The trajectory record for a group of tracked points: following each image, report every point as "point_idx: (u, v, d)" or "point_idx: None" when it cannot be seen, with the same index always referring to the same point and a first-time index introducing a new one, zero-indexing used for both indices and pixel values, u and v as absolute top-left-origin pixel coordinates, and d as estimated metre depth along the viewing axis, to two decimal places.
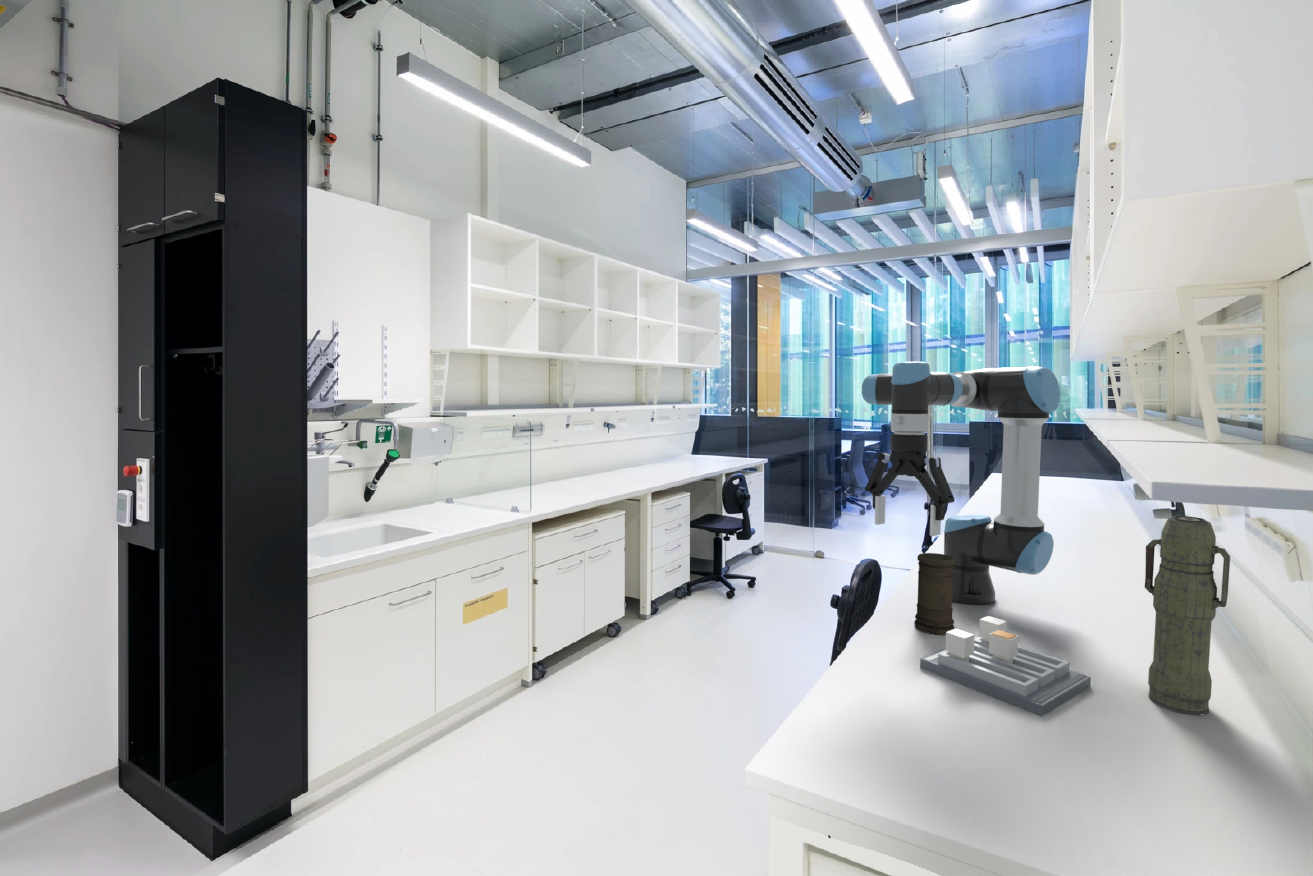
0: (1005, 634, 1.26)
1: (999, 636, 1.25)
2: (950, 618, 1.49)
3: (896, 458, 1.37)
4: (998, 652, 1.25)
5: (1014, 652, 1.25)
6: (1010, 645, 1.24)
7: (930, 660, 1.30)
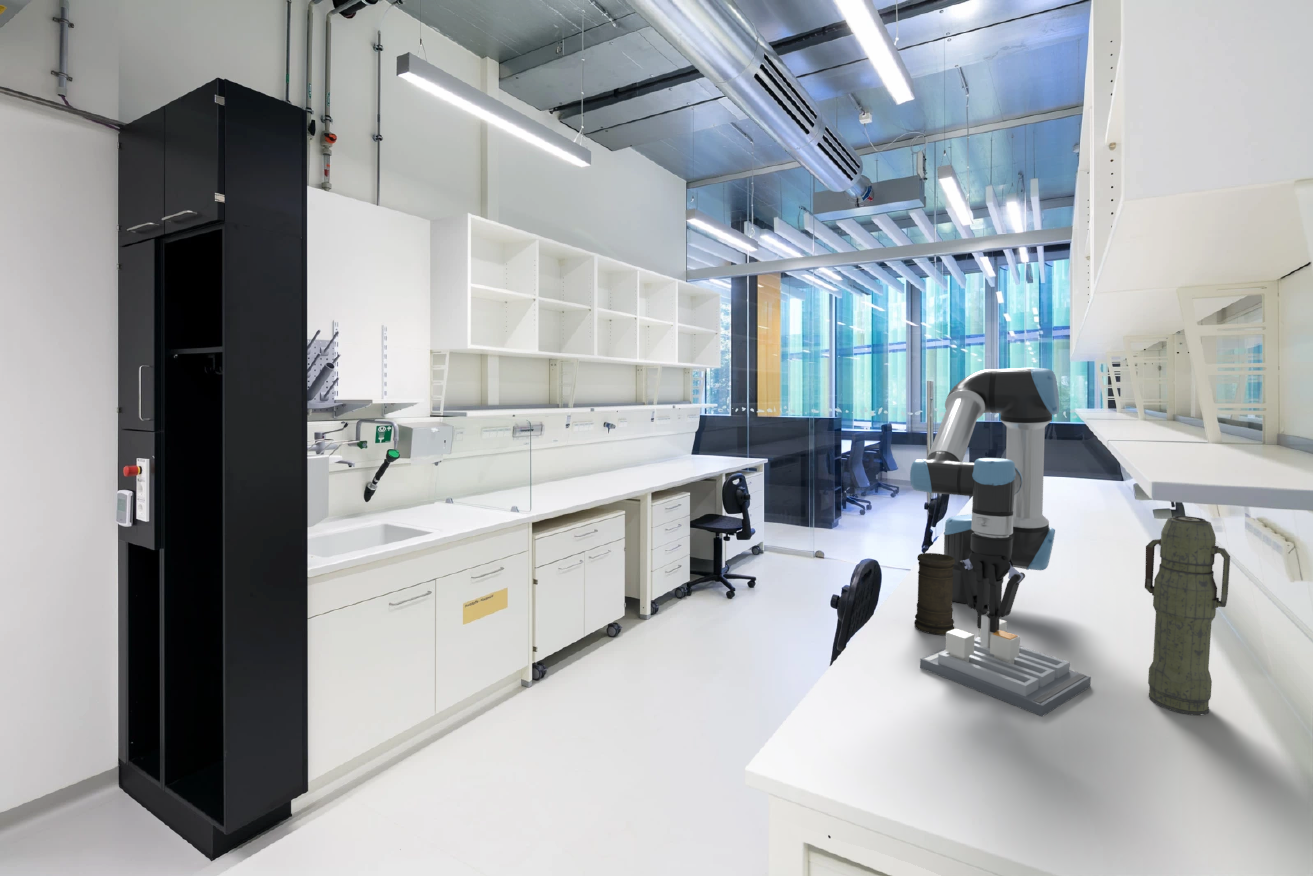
0: (1006, 634, 1.26)
1: (1000, 636, 1.25)
2: (950, 618, 1.49)
3: (976, 556, 1.29)
4: (999, 652, 1.25)
5: (1015, 652, 1.25)
6: (1011, 646, 1.23)
7: (930, 660, 1.30)
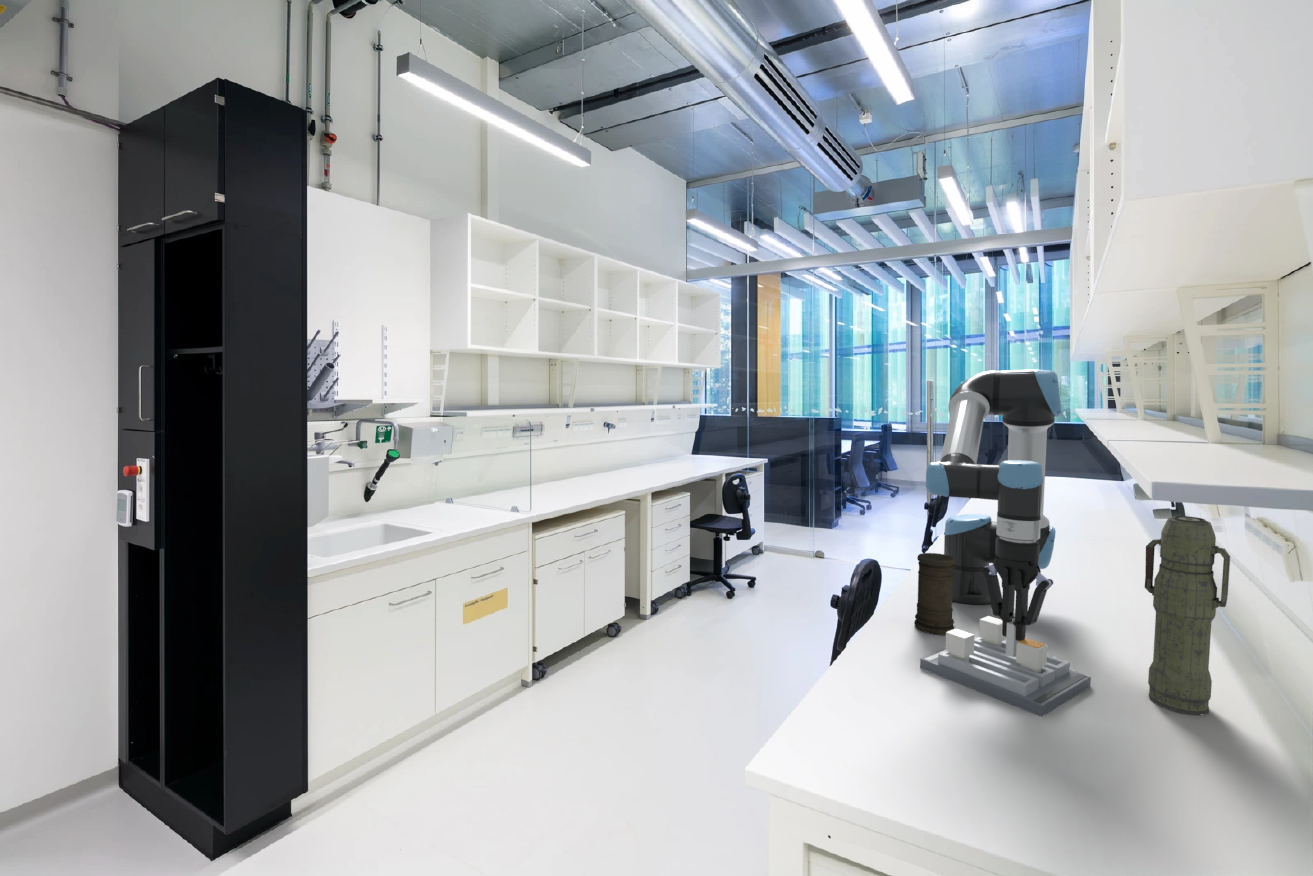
0: (1033, 643, 1.21)
1: (1027, 645, 1.21)
2: (950, 618, 1.49)
3: (1001, 562, 1.25)
4: (1026, 661, 1.21)
5: (1043, 661, 1.20)
6: (1038, 655, 1.19)
7: (930, 660, 1.30)
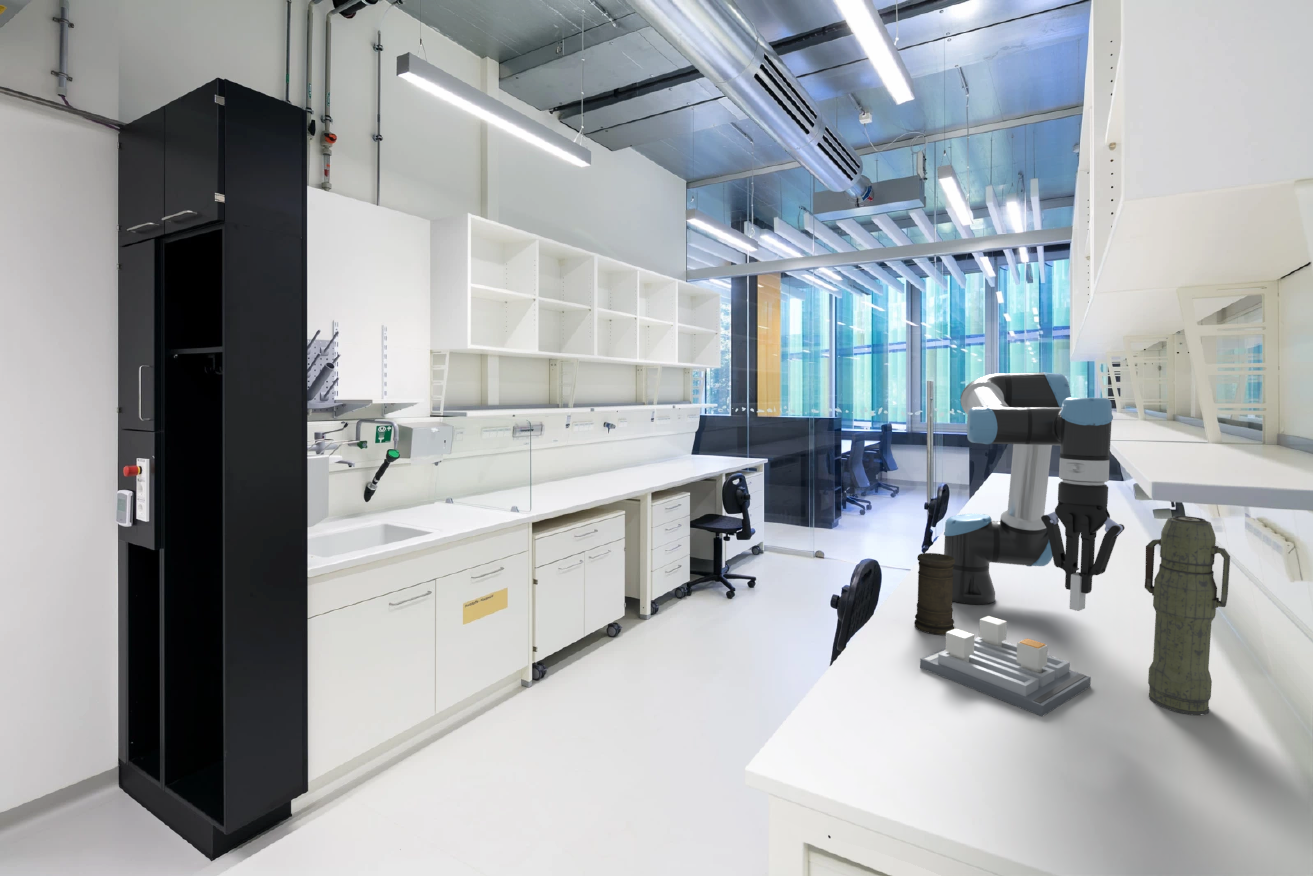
0: (1034, 643, 1.21)
1: (1027, 645, 1.21)
2: (950, 618, 1.49)
3: (1064, 508, 1.15)
4: (1026, 662, 1.21)
5: (1043, 662, 1.20)
6: (1039, 655, 1.19)
7: (930, 660, 1.30)
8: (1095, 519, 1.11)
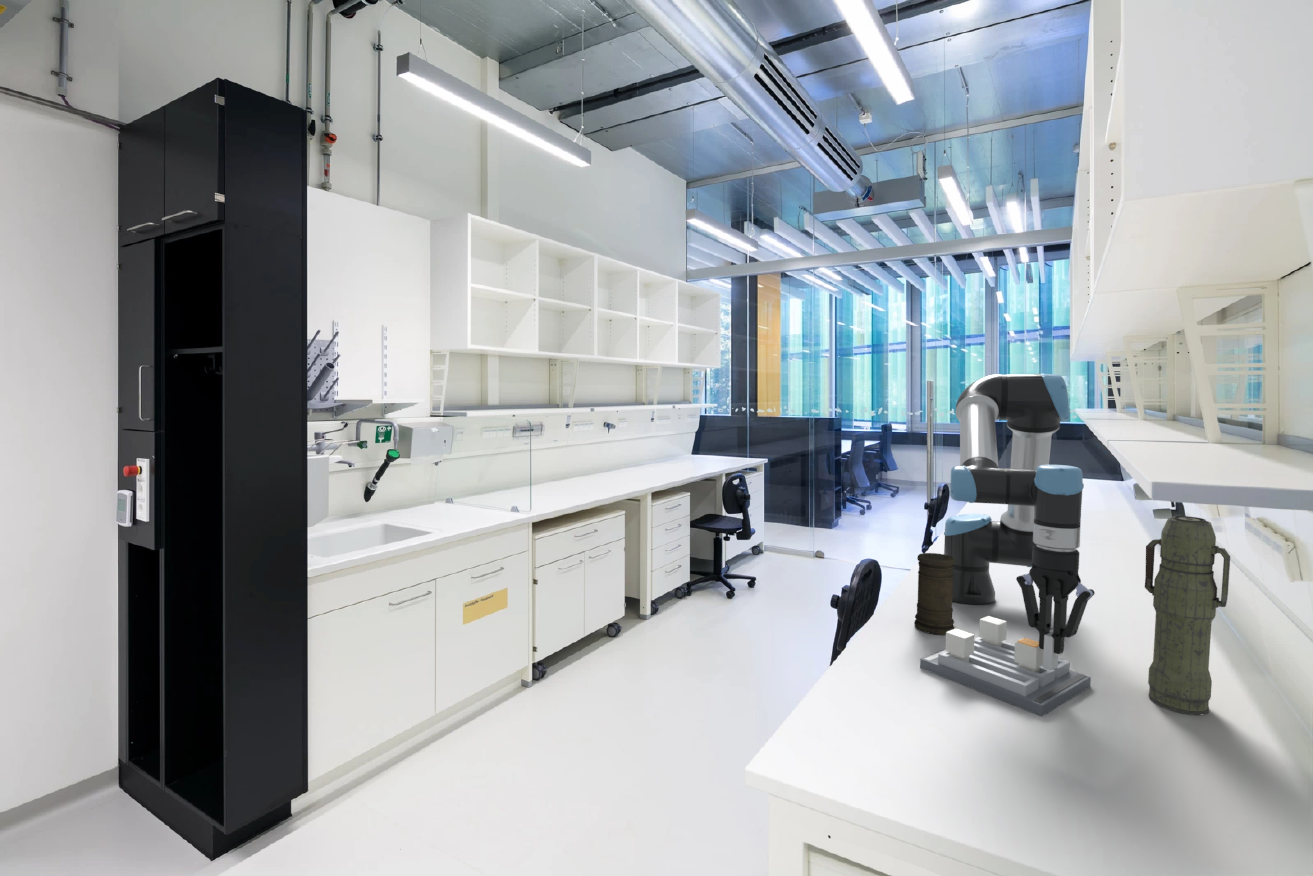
0: (1031, 642, 1.22)
1: (1025, 644, 1.21)
2: (950, 618, 1.49)
3: (1038, 571, 1.19)
4: (1024, 661, 1.21)
5: (1041, 661, 1.21)
6: (1036, 654, 1.20)
7: (930, 660, 1.30)
8: (1067, 584, 1.15)
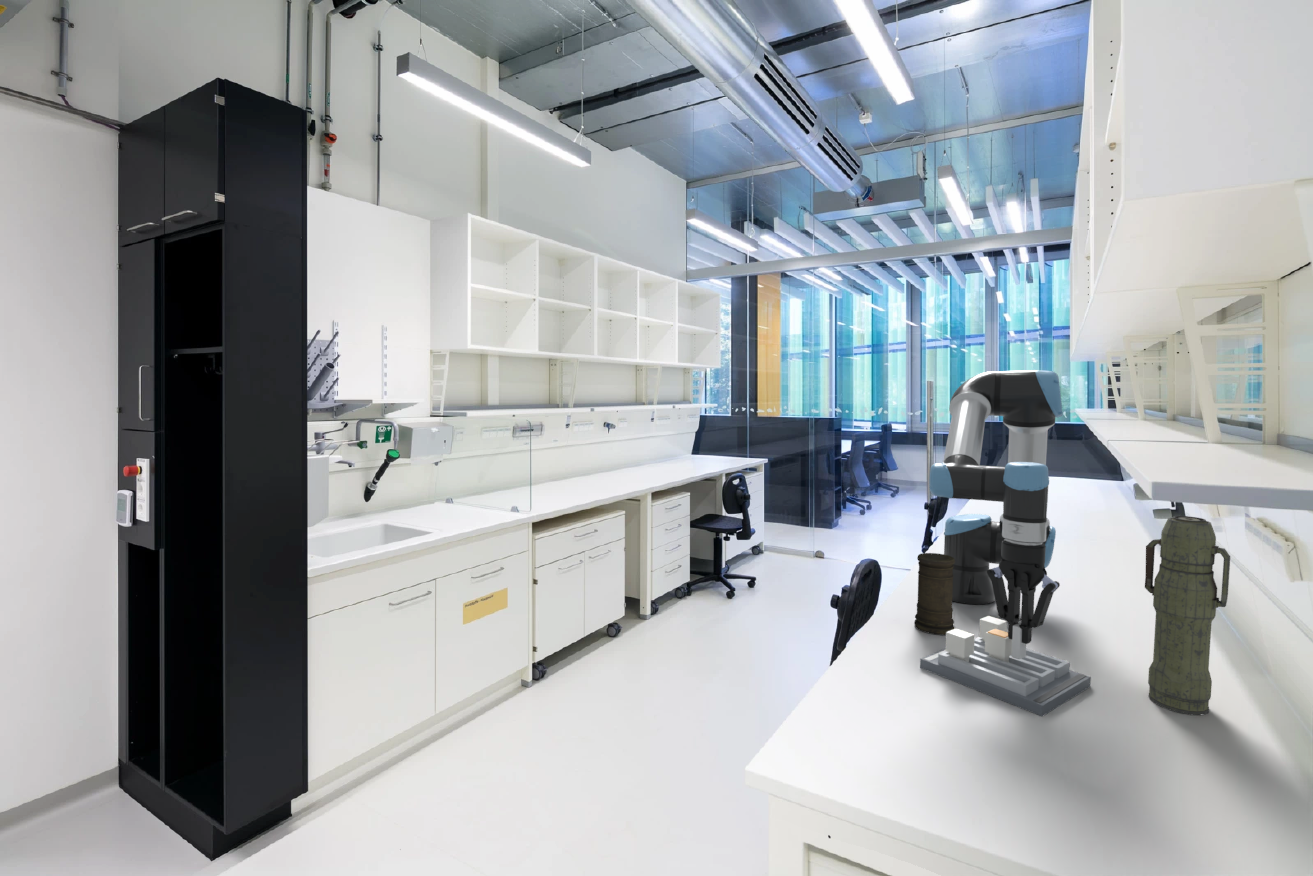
0: (1001, 633, 1.26)
1: (995, 635, 1.26)
2: (950, 618, 1.49)
3: (1006, 564, 1.24)
4: (994, 651, 1.26)
5: (1010, 651, 1.26)
6: (1005, 644, 1.24)
7: (930, 660, 1.30)
8: (1033, 576, 1.20)
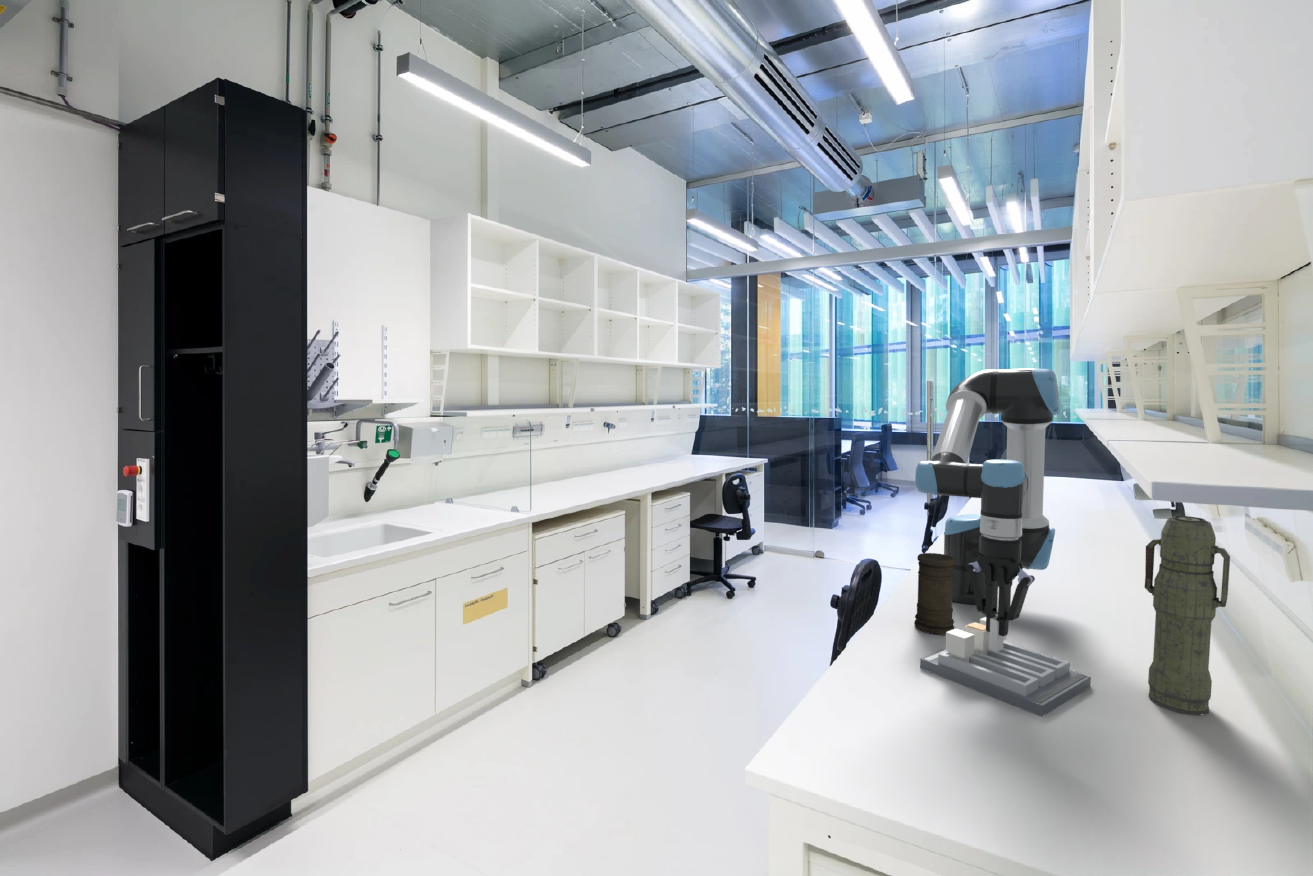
0: (980, 626, 1.30)
1: (974, 628, 1.30)
2: (950, 618, 1.49)
3: (984, 559, 1.28)
4: None
5: (988, 643, 1.29)
6: (984, 637, 1.28)
7: (930, 660, 1.30)
8: (1009, 570, 1.24)
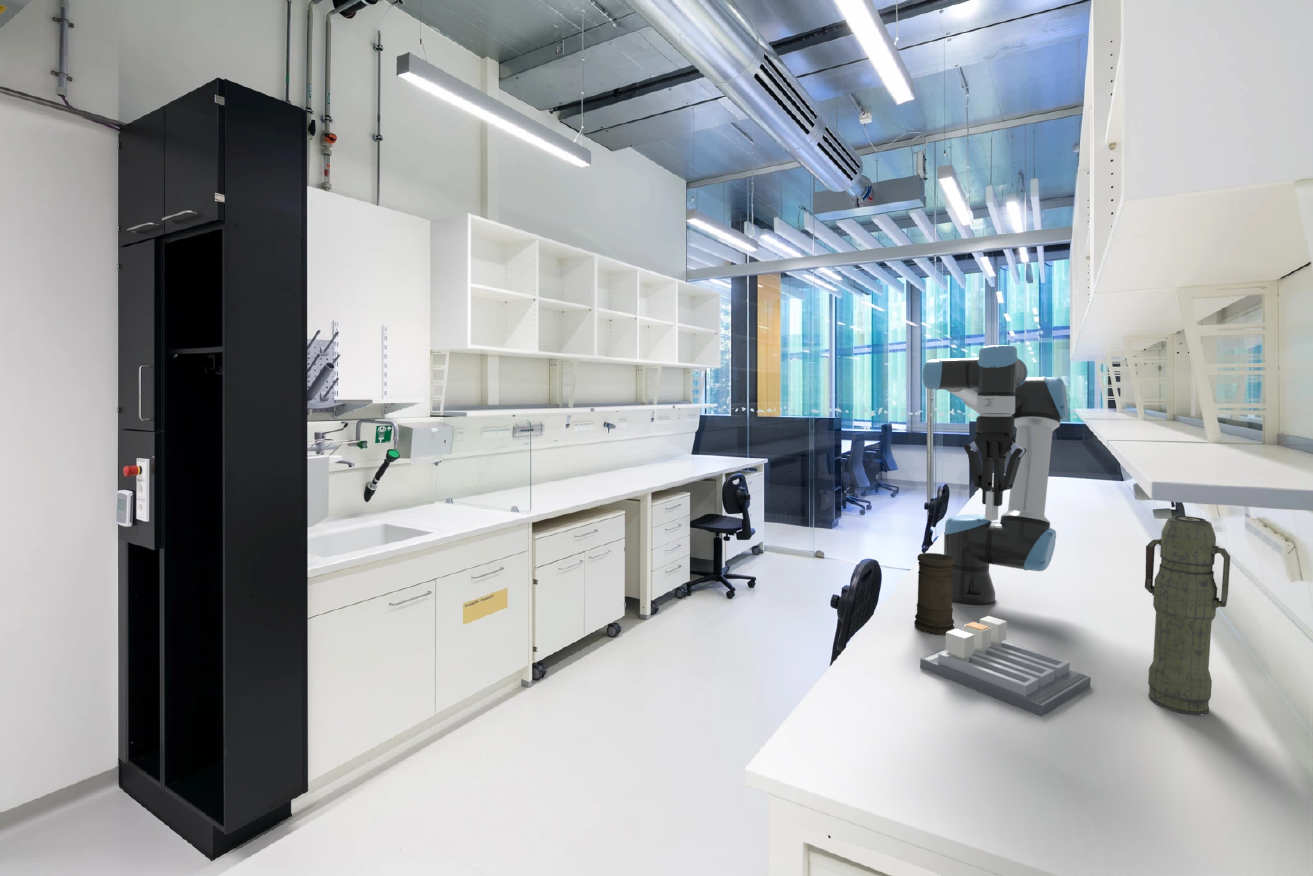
0: (978, 626, 1.30)
1: (972, 628, 1.30)
2: (950, 618, 1.49)
3: (981, 437, 1.40)
4: None
5: (987, 643, 1.29)
6: (982, 636, 1.28)
7: (930, 660, 1.30)
8: (1003, 444, 1.36)
